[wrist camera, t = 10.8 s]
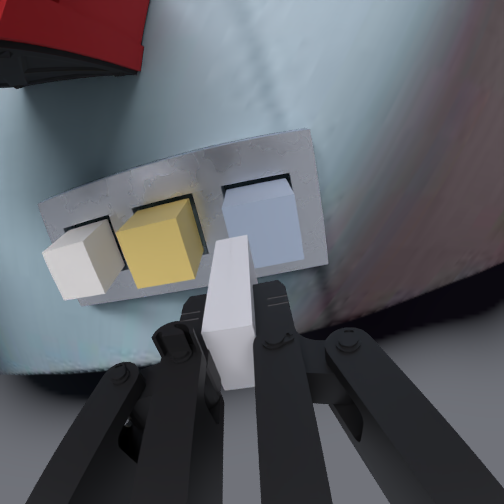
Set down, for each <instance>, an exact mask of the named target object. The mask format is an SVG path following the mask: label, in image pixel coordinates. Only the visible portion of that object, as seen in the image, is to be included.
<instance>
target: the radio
mask: <svg viewBox="0 0 504 504" xmlns="http://www.w3.org/2000/svg"><path fill="white" fill-rule="evenodd" d="M149 1H150V0H0V88H10V87H14V88H16V89H19V88H22V87H24V86H29V85H35V84H40V83H47V82H53V81H60V80H68V79H76V78H86V77H97V76H112V75H114V76H115V77H116V76H124V75H137V71H141V64H142V57H143V50H144V46H142V45H141V41H142V36H143V30H144V25H145V20H146V15H147V10H148V5H149Z"/></svg>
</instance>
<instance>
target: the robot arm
mask: <svg viewBox="0 0 504 504" xmlns="http://www.w3.org/2000/svg"><path fill="white" fill-rule="evenodd" d="M152 340H153V342H154V344H155V346H156V348H157V350H158V351H159V353H160V355H161V357H162V358H161V362H160V363H158V364H156V365H153V366H150V367H147V368H144V369H142V370H139V368H138V367H137V366H136V365H135V364H134V363H131V362H122V363H119V364H116V365H114V366H113V367H111V368H110V369H109V370H108V371H107V372H106V373H105V374H104V376H103V377H102V379H101V380H100V382H99V383H98V385H97V386H96V388H95V389H94V391H93V393H92V394H91V396H90V397H89V399H88V400H87V402H86V403H85V405H84V406H83V408H82V410H81V411H80V413H79V414H78V416H77V417H76V419H75V421H74V422H73V424H72V425H71V427H70V428H69V430H68V432H67V433H66V435H65V436H64V438H63V440H62V441H61V443H60V445H59V446H58V448H57V450H56V452H55V453H54V455H53V456H52V458H51V460H50V461H49V463H48V465H47V466H46V468H45V470H44V472H43V473H42V475H41V477H40V479H39V480H38V482H37V484H36V485H35V487H34V489H33V491H32V493H31V494H30V496H29V498H28V500H27V502H26V503H25V504H222V493H223V491H222V489H223V434H224V433H223V431H224V400H223V397H222V395H221V392H220V391H221V383H222V385H223V388H224V390H232V389H241V388H248V387H255V397H256V415H257V432H258V453H259V470H260V487H261V504H333V503H332V498H331V493H330V487H329V482H328V477H327V472H326V467H325V462H324V457H323V451H322V447H321V442H320V437H319V432H318V427H317V422H316V417H315V412H314V408H313V403H319V404H329V406H330V408H331V410H332V411H333V413H334V414H335V416H336V418H337V419H338V421H339V423H340V424H341V426H342V428H343V429H344V431H345V432H346V434H347V435H348V437H349V439H350V440H351V442H352V444H353V445H354V447H355V448H356V450H357V452H358V453H359V455H360V456H361V458H362V460H363V461H364V463H365V464H366V466H367V468H368V469H369V471H370V472H371V474H372V476H373V477H374V479H375V480H376V482H377V483H378V485H379V487H380V488H381V490H382V491H383V493H384V495H385V496H386V498H387V499H388V501H389V502H390V504H504V488H503V487H502V486H501V485H500V483H499V482H498V481H497V480H496V478H495V477H494V476H493V475H492V474H491V472H490V471H489V470H488V469H487V468H486V466H485V465H484V464H483V463H482V462H481V460H480V459H479V458H478V457H477V456H476V454H474V452H473V451H472V450H471V449H470V447H469V446H468V445H467V444H466V443H465V441H464V440H463V439H462V438H461V437H460V436H459V435H458V433H457V432H456V431H455V430H454V429H453V428H452V427H451V425H450V424H449V423H448V422H447V421H446V420H445V418H444V417H443V416H442V415H441V414H440V413H439V412H438V411H437V409H436V408H435V407H434V406H433V405H432V404H431V403H430V401H429V400H428V399H427V398H426V397H425V396H424V395H423V394H422V392H421V391H420V390H419V389H418V388H417V387H416V386H415V385H414V384H413V382H412V381H411V380H410V379H409V378H408V377H407V376H406V375H405V374H404V373H403V371H402V370H400V368H399V367H398V366H397V365H396V364H395V363H394V362H393V360H392V359H391V358H390V357H389V356H388V355H387V354H386V353H385V352H384V351H383V350H382V349H381V347H380V346H379V345H378V344H377V343H376V342H375V341H374V340H373V339H372V338H371V337H370V336H369V335H368V334H367V333H366V332H364V331H363V330H360V329H357V328H343V329H339V330H336V331H335V332H333V333H331V334H330V335H329V337H328V338H327V339H326V341H322V340H310V339H307V338H304V337H303V336H301V335H299V334H298V332H297V331H296V329H295V327H294V323H293V318H292V314H291V310H290V305H289V301H288V297H287V293H286V289H285V286H284V285H283V284H282V283H281V282H280V281H279V280H275V281H270V282H265V283H259V284H258V281H257V277H256V272H255V267H254V263H253V258H252V254H251V249H250V245H249V240H248V236H247V235H243V236H238V237H233V238H228V239H223V240H218V241H216V244H215V250H214V255H213V261H212V267H211V273H210V279H209V285H208V291H207V294H203V295H197V296H191V297H190V298H189V299H188V300H187V301H186V303H185V304H184V306H183V309H182V315H181V317H180V321H175V322H171V323H167V324H166V325H164V326H162V327H160V328H159V329H158V330H157V331H156V332H155V333H154V334H153V336H152ZM127 419H129V422H128V423H127V424H126V425H124V424H125V423H126V421H127Z"/></svg>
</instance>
